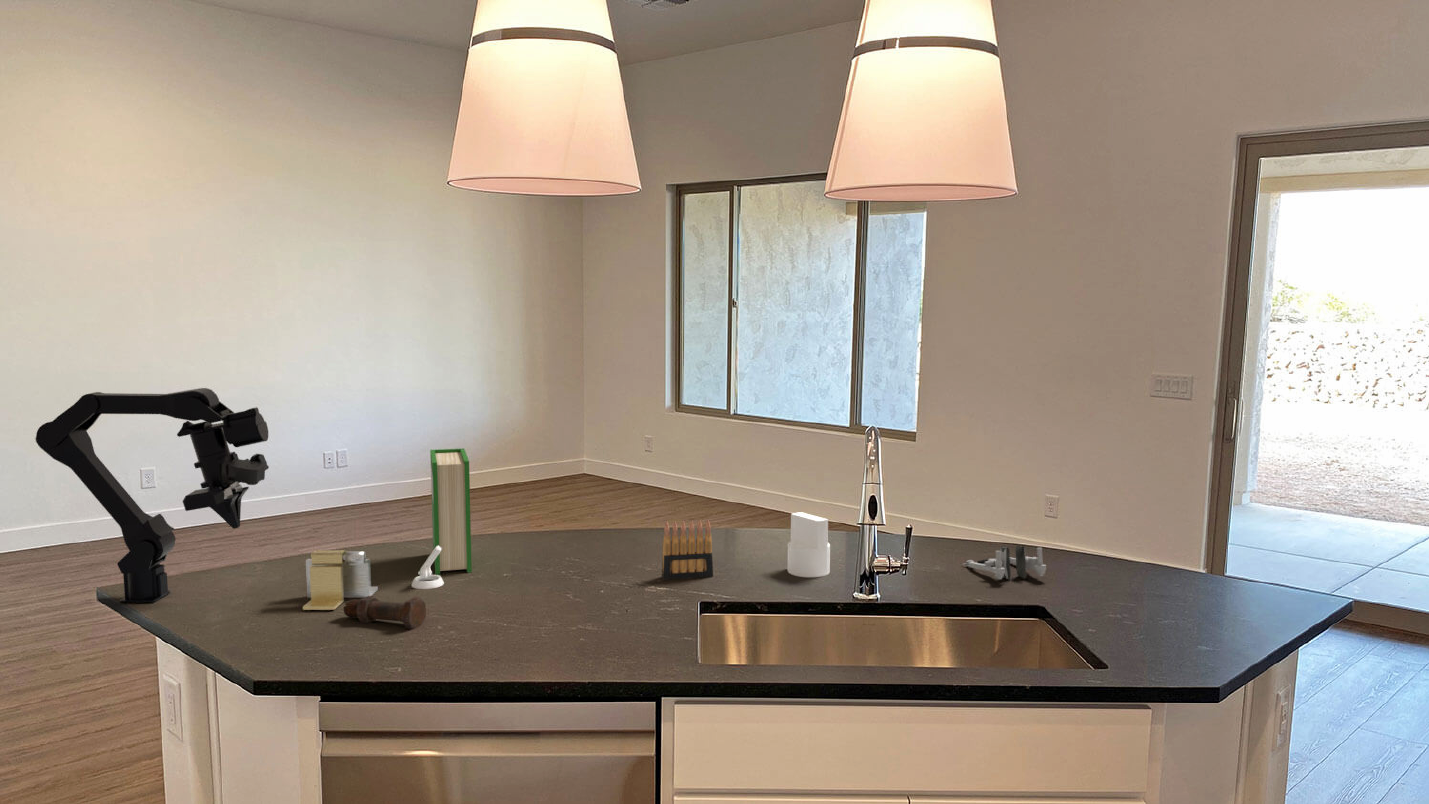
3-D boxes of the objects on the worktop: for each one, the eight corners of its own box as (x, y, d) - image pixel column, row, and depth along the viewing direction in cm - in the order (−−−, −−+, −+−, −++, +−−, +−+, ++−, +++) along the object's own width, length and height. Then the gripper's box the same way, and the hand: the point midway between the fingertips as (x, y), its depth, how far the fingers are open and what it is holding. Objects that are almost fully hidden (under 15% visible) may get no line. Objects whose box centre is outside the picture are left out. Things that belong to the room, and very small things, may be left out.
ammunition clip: (663, 579, 205) (663, 523, 203) (661, 577, 207) (661, 521, 205) (713, 576, 207) (713, 520, 206) (711, 574, 209) (711, 518, 208)
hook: (457, 568, 197) (432, 554, 195) (431, 605, 199) (406, 591, 197) (462, 554, 203) (437, 540, 201) (436, 589, 205) (412, 576, 203)
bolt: (352, 626, 181) (421, 632, 176) (335, 620, 177) (406, 627, 172) (360, 595, 183) (429, 600, 178) (344, 588, 179) (414, 594, 174)
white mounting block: (300, 602, 188) (298, 553, 187) (317, 589, 197) (315, 541, 196) (363, 602, 188) (361, 553, 187) (377, 589, 197) (376, 541, 196)
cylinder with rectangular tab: (778, 569, 212) (779, 515, 211) (809, 563, 218) (810, 510, 216) (807, 579, 205) (807, 523, 204) (838, 572, 211) (839, 517, 209)
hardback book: (471, 572, 209) (469, 461, 207) (435, 575, 207) (432, 462, 204) (466, 551, 226) (464, 448, 223) (433, 553, 224) (430, 449, 221)
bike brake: (1054, 579, 204) (1007, 567, 223) (1052, 546, 204) (1006, 537, 224) (993, 583, 201) (951, 571, 221) (991, 550, 201) (950, 541, 221)
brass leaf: (302, 609, 183) (300, 560, 182) (317, 597, 190) (315, 550, 189) (334, 609, 183) (332, 560, 182) (347, 597, 191) (346, 550, 190)
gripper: (227, 459, 180) (251, 538, 183) (275, 432, 198) (297, 505, 202) (170, 469, 181) (195, 548, 184) (223, 442, 199) (245, 514, 202)
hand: (236, 527), depth 193 cm, fingers closed
